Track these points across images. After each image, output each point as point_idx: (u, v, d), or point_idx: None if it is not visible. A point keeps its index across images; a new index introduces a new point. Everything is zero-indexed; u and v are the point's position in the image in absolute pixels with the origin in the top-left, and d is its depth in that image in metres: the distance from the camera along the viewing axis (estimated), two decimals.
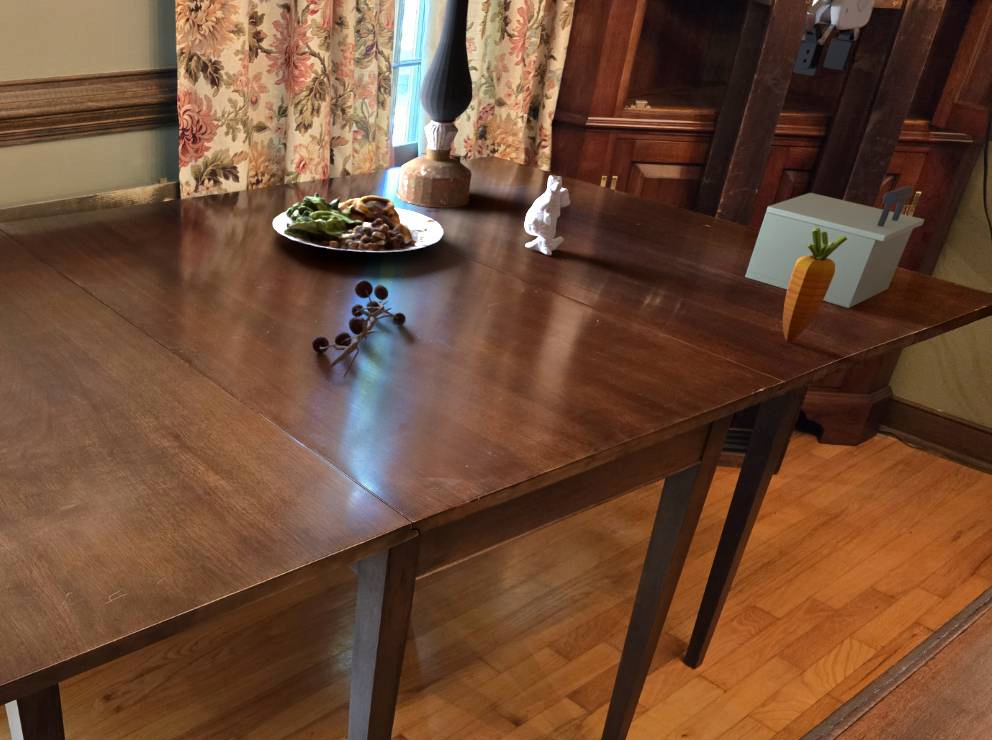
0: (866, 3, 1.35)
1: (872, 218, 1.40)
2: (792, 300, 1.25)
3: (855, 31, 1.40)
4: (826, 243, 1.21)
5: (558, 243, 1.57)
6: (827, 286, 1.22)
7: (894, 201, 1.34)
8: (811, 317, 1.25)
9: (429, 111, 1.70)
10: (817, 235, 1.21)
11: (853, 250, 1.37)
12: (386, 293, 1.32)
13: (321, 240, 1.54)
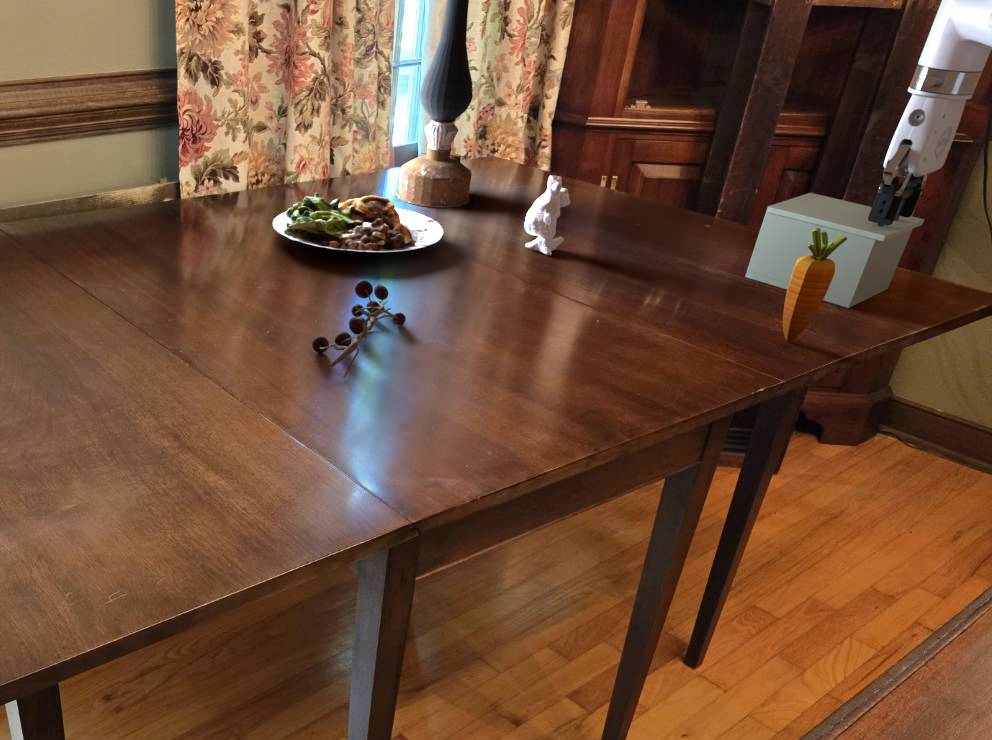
0: (943, 149, 1.32)
1: None
2: (792, 300, 1.25)
3: (924, 178, 1.36)
4: (826, 243, 1.21)
5: (558, 243, 1.57)
6: (827, 286, 1.22)
7: None
8: (811, 317, 1.25)
9: (429, 111, 1.70)
10: (817, 235, 1.21)
11: (853, 250, 1.37)
12: (386, 293, 1.32)
13: (321, 240, 1.54)
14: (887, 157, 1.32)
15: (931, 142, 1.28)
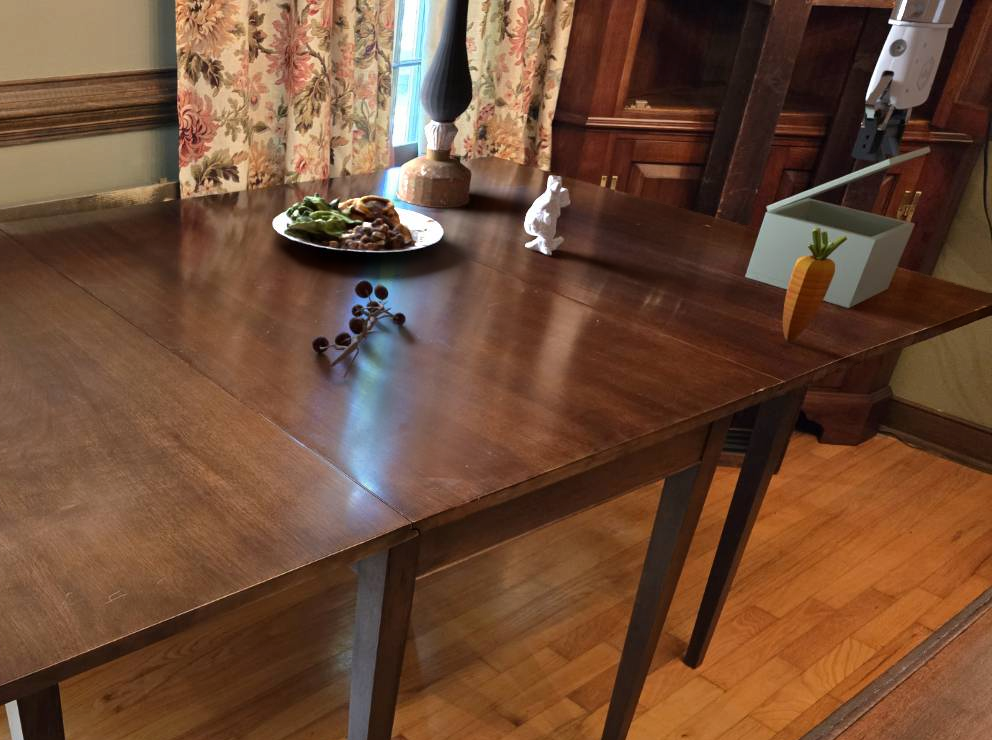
0: (926, 81, 1.30)
1: None
2: (792, 300, 1.25)
3: (908, 114, 1.35)
4: (826, 243, 1.21)
5: (558, 243, 1.57)
6: (827, 286, 1.22)
7: None
8: (811, 317, 1.25)
9: (429, 111, 1.70)
10: (817, 235, 1.21)
11: (853, 250, 1.37)
12: (386, 293, 1.32)
13: (321, 240, 1.54)
14: (869, 90, 1.30)
15: (913, 72, 1.27)
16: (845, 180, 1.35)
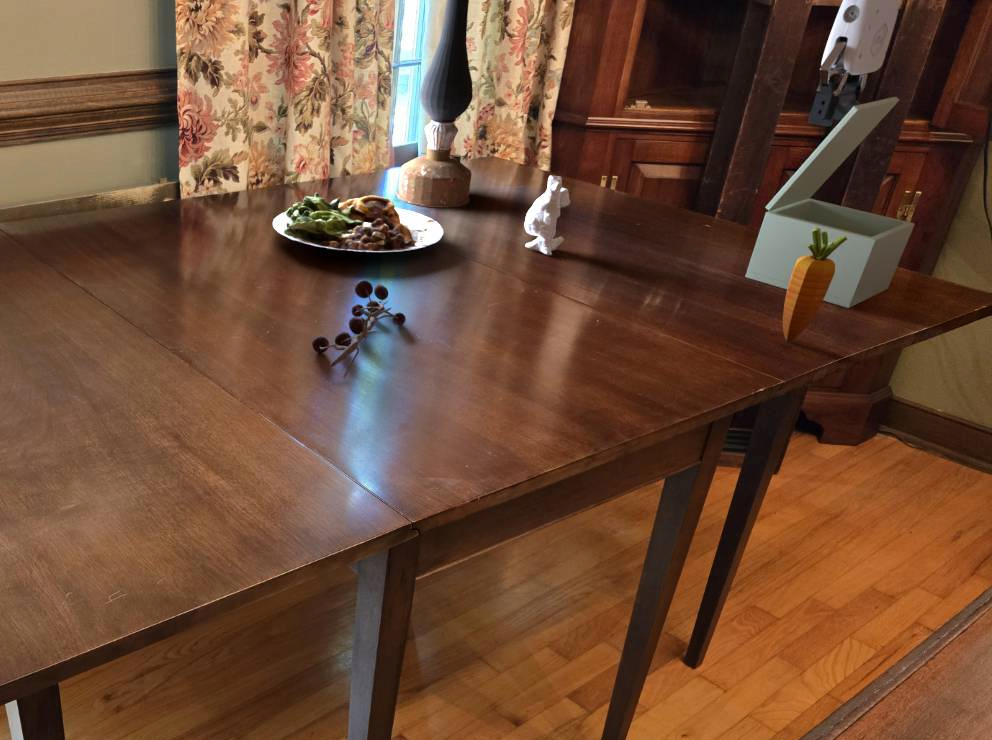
0: (880, 48, 1.33)
1: None
2: (792, 300, 1.25)
3: (863, 80, 1.38)
4: (826, 243, 1.21)
5: (558, 243, 1.57)
6: (827, 286, 1.22)
7: None
8: (811, 317, 1.25)
9: (429, 111, 1.70)
10: (817, 235, 1.21)
11: (853, 250, 1.37)
12: (386, 293, 1.32)
13: (321, 240, 1.54)
14: (824, 56, 1.33)
15: (866, 38, 1.29)
16: (824, 145, 1.35)
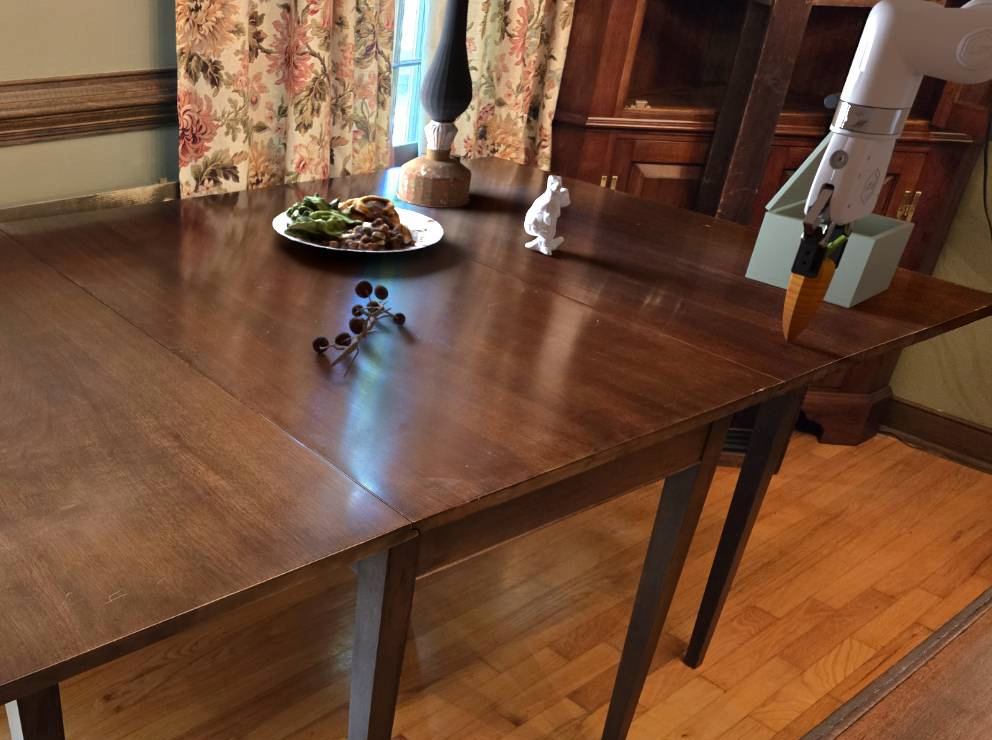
0: (871, 193, 1.17)
1: None
2: (792, 300, 1.25)
3: (850, 226, 1.21)
4: None
5: (558, 243, 1.57)
6: (827, 286, 1.22)
7: (836, 98, 1.35)
8: (811, 317, 1.25)
9: (429, 111, 1.70)
10: None
11: (853, 250, 1.37)
12: (386, 293, 1.32)
13: (321, 240, 1.54)
14: (808, 203, 1.16)
15: (855, 187, 1.13)
16: (824, 145, 1.35)
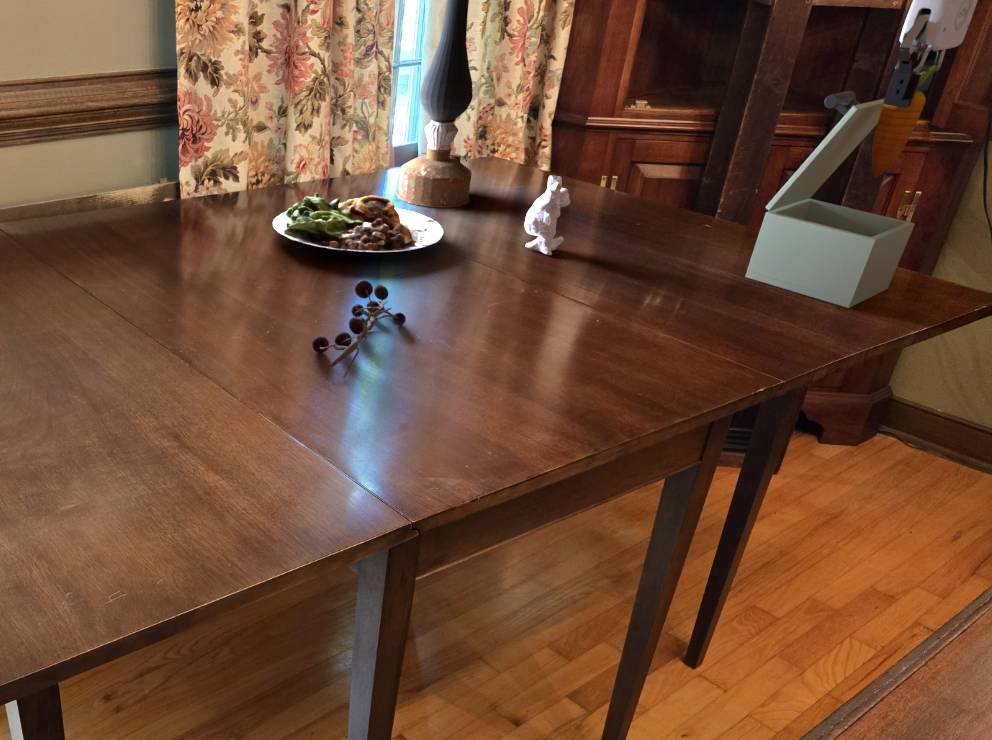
0: (963, 21, 1.24)
1: None
2: (882, 133, 1.32)
3: (940, 58, 1.28)
4: None
5: (558, 243, 1.57)
6: (917, 116, 1.29)
7: (836, 98, 1.35)
8: (900, 149, 1.32)
9: (429, 111, 1.70)
10: None
11: (853, 250, 1.37)
12: (386, 293, 1.32)
13: (321, 240, 1.54)
14: (904, 30, 1.23)
15: (951, 10, 1.20)
16: (824, 145, 1.35)
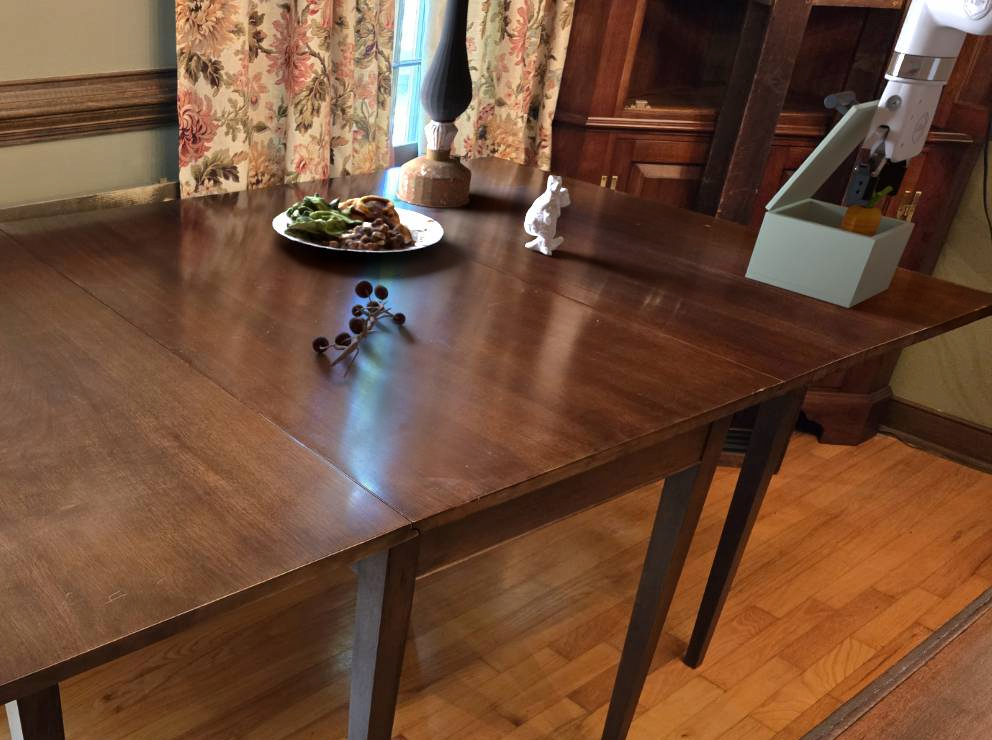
0: (920, 135, 1.33)
1: None
2: None
3: (907, 159, 1.38)
4: None
5: (558, 243, 1.57)
6: (874, 231, 1.40)
7: (836, 98, 1.35)
8: None
9: (429, 111, 1.70)
10: None
11: (853, 250, 1.37)
12: (386, 293, 1.32)
13: (321, 240, 1.54)
14: (865, 143, 1.33)
15: (908, 127, 1.29)
16: (824, 145, 1.35)
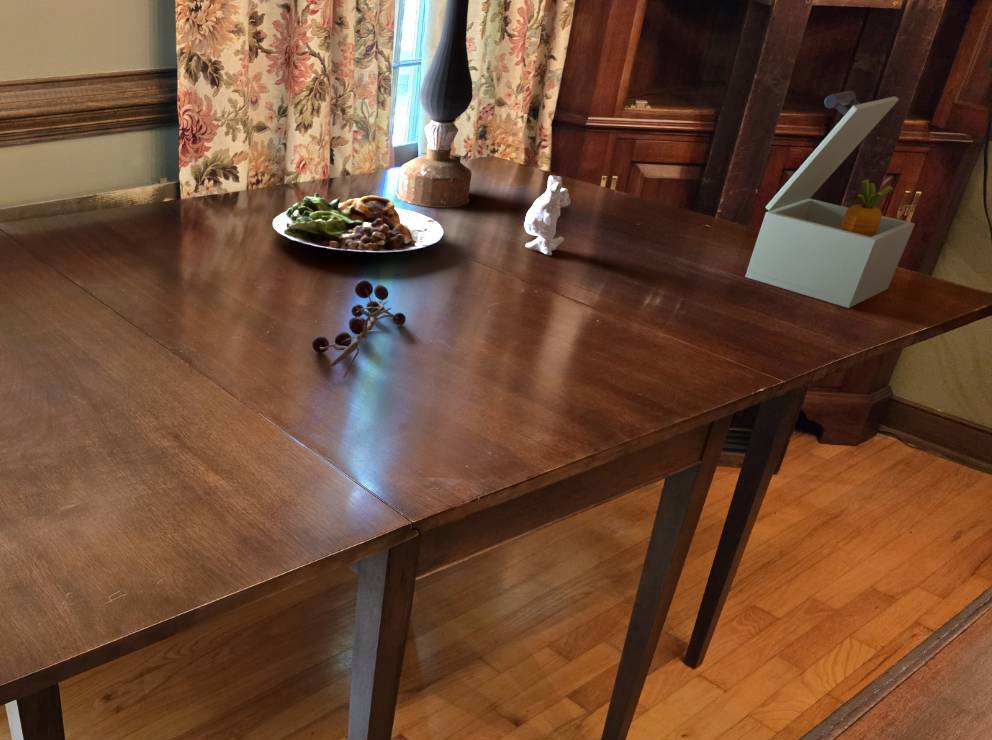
0: None
1: None
2: None
3: None
4: (873, 193, 1.39)
5: (558, 243, 1.57)
6: (874, 231, 1.40)
7: (836, 98, 1.35)
8: None
9: (429, 111, 1.70)
10: (866, 186, 1.38)
11: (853, 250, 1.37)
12: (386, 293, 1.32)
13: (321, 240, 1.54)
14: None
15: None
16: (824, 145, 1.35)
